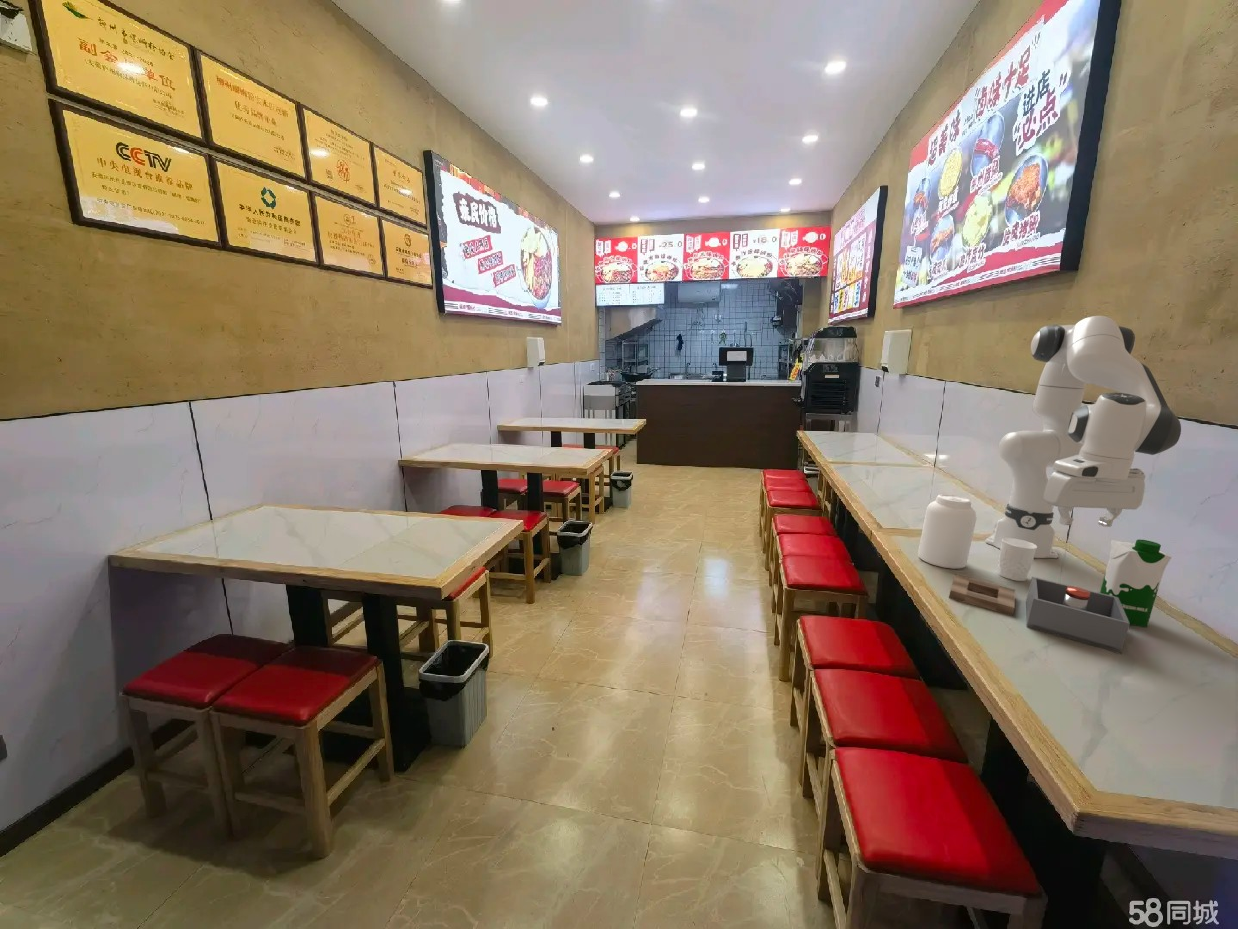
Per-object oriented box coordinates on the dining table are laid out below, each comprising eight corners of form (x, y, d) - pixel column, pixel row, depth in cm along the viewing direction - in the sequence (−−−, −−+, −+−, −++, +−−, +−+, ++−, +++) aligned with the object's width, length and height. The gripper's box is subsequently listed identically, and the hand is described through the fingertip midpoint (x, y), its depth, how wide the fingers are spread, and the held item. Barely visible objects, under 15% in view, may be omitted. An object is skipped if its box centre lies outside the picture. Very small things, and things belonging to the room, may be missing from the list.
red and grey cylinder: (1070, 617, 121) (1079, 586, 119) (1086, 626, 117) (1095, 594, 115) (1054, 617, 120) (1062, 585, 119) (1069, 626, 116) (1078, 593, 115)
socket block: (953, 581, 140) (955, 574, 139) (1013, 596, 132) (1014, 589, 132) (948, 597, 130) (950, 590, 129) (1012, 615, 122) (1014, 607, 122)
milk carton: (1107, 622, 121) (1130, 542, 117) (1087, 605, 130) (1108, 530, 125) (1154, 630, 119) (1180, 549, 114) (1131, 612, 127) (1154, 536, 123)
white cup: (1035, 584, 141) (1043, 550, 139) (1003, 580, 142) (1011, 546, 140) (1019, 572, 148) (1027, 539, 146) (989, 568, 150) (996, 536, 148)
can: (970, 573, 146) (985, 506, 142) (920, 564, 150) (933, 499, 146) (960, 557, 157) (973, 495, 153) (914, 550, 162) (926, 489, 157)
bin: (1025, 602, 129) (1032, 576, 128) (1110, 624, 120) (1118, 597, 119) (1026, 626, 117) (1033, 598, 116) (1120, 653, 108) (1129, 623, 106)
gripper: (1132, 465, 118) (1114, 521, 121) (1047, 461, 117) (1031, 518, 120) (1161, 472, 111) (1141, 532, 115) (1071, 469, 111) (1054, 528, 114)
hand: (1084, 525), depth 118 cm, fingers open, 8 cm apart
